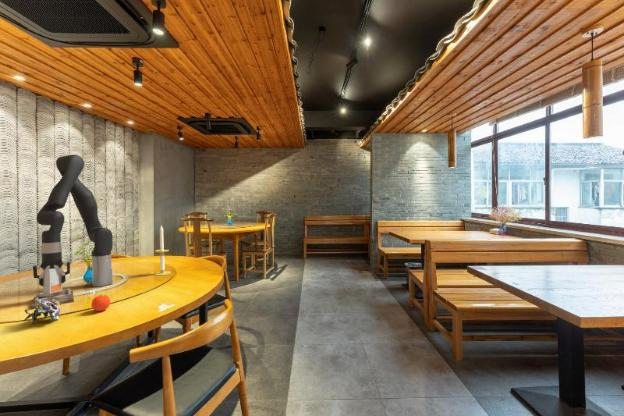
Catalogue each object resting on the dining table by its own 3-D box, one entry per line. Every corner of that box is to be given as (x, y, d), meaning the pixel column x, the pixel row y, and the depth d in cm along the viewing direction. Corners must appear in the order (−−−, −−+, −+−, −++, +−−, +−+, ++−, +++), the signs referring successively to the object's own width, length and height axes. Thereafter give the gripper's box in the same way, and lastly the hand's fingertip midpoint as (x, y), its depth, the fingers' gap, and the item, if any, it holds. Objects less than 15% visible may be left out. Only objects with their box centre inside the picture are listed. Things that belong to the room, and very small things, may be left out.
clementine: (110, 305, 136) (110, 290, 136) (115, 309, 132) (115, 293, 131) (89, 311, 130) (89, 295, 130) (94, 314, 126) (93, 298, 125)
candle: (168, 270, 202) (167, 223, 201) (172, 273, 195) (171, 224, 193) (152, 273, 196) (151, 224, 195) (156, 276, 188) (154, 225, 187)
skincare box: (49, 294, 142) (49, 269, 142) (42, 293, 143) (42, 269, 143) (62, 290, 148) (62, 266, 148) (56, 290, 149) (55, 266, 149)
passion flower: (56, 333, 121) (63, 313, 117) (19, 337, 113) (26, 315, 109) (57, 311, 128) (64, 291, 124) (22, 313, 120) (28, 292, 116)
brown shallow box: (72, 292, 156) (72, 287, 156) (73, 301, 142) (73, 296, 142) (34, 299, 146) (33, 293, 146) (31, 309, 132) (30, 303, 132)
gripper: (70, 248, 153) (71, 280, 153) (32, 252, 143) (33, 285, 144) (70, 250, 147) (71, 283, 147) (30, 254, 138) (32, 289, 138)
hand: (52, 284), depth 145 cm, fingers closed on skincare box, 7 cm apart
